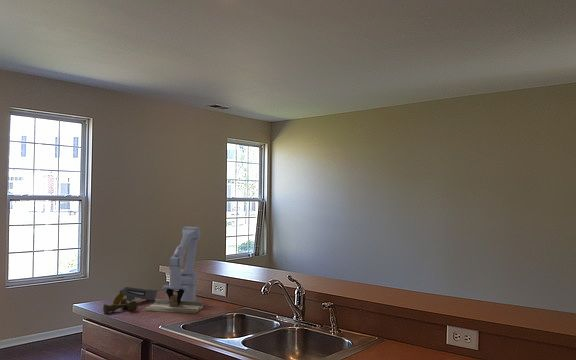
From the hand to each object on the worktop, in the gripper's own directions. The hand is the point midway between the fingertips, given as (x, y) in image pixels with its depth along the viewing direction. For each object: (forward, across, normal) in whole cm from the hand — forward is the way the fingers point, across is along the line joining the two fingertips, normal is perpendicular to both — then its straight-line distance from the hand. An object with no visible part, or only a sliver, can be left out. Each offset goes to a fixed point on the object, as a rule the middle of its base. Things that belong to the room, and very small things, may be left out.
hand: (175, 303), depth 269 cm
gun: (+3, -28, +9) cm, 30 cm away
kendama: (+3, -25, -12) cm, 28 cm away
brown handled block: (+1, 0, -3) cm, 3 cm away
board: (+3, +1, -2) cm, 4 cm away
